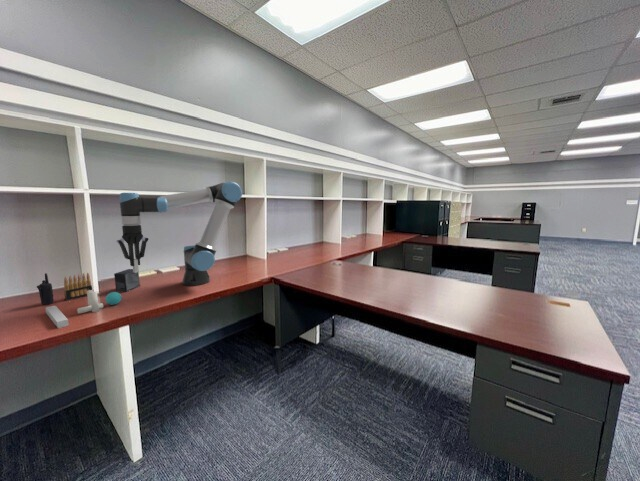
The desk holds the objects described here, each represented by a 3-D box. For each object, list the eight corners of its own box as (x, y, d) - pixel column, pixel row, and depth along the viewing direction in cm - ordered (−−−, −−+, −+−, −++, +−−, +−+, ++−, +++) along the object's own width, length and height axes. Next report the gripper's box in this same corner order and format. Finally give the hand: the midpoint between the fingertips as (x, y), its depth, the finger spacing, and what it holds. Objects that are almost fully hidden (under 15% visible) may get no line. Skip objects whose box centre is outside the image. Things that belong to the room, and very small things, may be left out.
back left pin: (98, 309, 118) (96, 291, 117) (99, 310, 117) (97, 292, 116) (91, 311, 116) (89, 292, 115) (92, 312, 115) (90, 294, 114)
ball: (100, 300, 123) (113, 305, 127) (104, 302, 119) (117, 307, 123) (109, 289, 125) (122, 294, 129) (113, 290, 122) (126, 296, 125)
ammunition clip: (66, 300, 129) (63, 277, 127) (65, 300, 130) (62, 276, 128) (93, 294, 138) (90, 272, 137) (91, 293, 139) (89, 272, 138)
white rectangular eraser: (55, 310, 117) (55, 305, 116) (68, 325, 102) (67, 319, 102) (46, 313, 114) (45, 307, 114) (58, 328, 100) (57, 322, 100)
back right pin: (94, 307, 121) (92, 289, 120) (96, 308, 120) (94, 290, 119) (88, 308, 119) (86, 290, 118) (89, 310, 118) (87, 291, 117)
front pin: (101, 302, 121) (76, 308, 114) (102, 303, 119) (78, 309, 113) (102, 307, 121) (77, 313, 114) (103, 308, 120) (78, 314, 113)
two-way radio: (56, 303, 126) (51, 272, 124) (44, 306, 122) (40, 275, 120) (47, 301, 127) (43, 271, 125) (36, 305, 123) (31, 274, 121)
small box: (129, 286, 153) (128, 268, 152) (140, 286, 153) (139, 268, 152) (115, 291, 143) (113, 273, 141) (126, 292, 142) (125, 273, 141)
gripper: (143, 223, 134) (147, 268, 137) (112, 225, 124) (117, 273, 127) (149, 224, 130) (153, 270, 133) (118, 226, 120) (123, 276, 123)
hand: (136, 272), depth 130 cm, fingers closed
